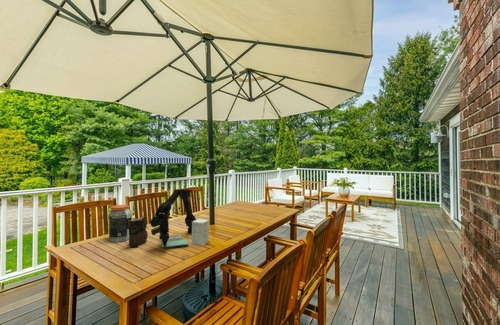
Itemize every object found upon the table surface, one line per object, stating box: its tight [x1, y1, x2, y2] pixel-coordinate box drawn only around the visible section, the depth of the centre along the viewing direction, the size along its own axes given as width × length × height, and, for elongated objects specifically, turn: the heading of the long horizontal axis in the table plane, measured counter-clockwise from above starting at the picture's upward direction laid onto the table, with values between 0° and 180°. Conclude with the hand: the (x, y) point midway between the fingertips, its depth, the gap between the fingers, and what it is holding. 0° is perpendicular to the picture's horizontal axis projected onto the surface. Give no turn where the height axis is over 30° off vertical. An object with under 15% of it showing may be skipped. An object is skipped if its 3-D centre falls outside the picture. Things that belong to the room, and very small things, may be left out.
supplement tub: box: [108, 204, 133, 243], centre depth 184 cm, size 16×16×26 cm
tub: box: [168, 233, 182, 241], centre depth 178 cm, size 14×9×4 cm, turn 110°
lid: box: [161, 238, 189, 248], centre depth 167 cm, size 18×9×5 cm, turn 110°
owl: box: [128, 216, 149, 249], centre depth 170 cm, size 13×13×20 cm
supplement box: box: [191, 218, 210, 246], centre depth 174 cm, size 10×9×17 cm
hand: (164, 245), depth 165 cm, fingers closed on lid, 4 cm apart
